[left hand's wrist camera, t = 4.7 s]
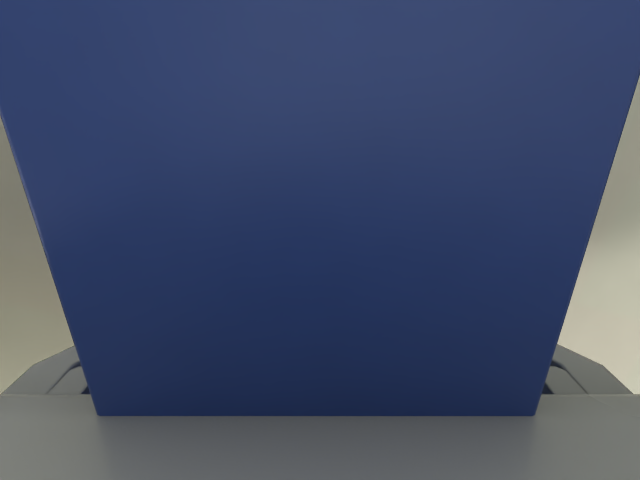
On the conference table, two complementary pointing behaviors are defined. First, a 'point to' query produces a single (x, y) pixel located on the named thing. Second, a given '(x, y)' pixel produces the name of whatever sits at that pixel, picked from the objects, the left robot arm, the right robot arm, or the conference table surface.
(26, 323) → the conference table surface
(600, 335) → the conference table surface
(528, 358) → the box
